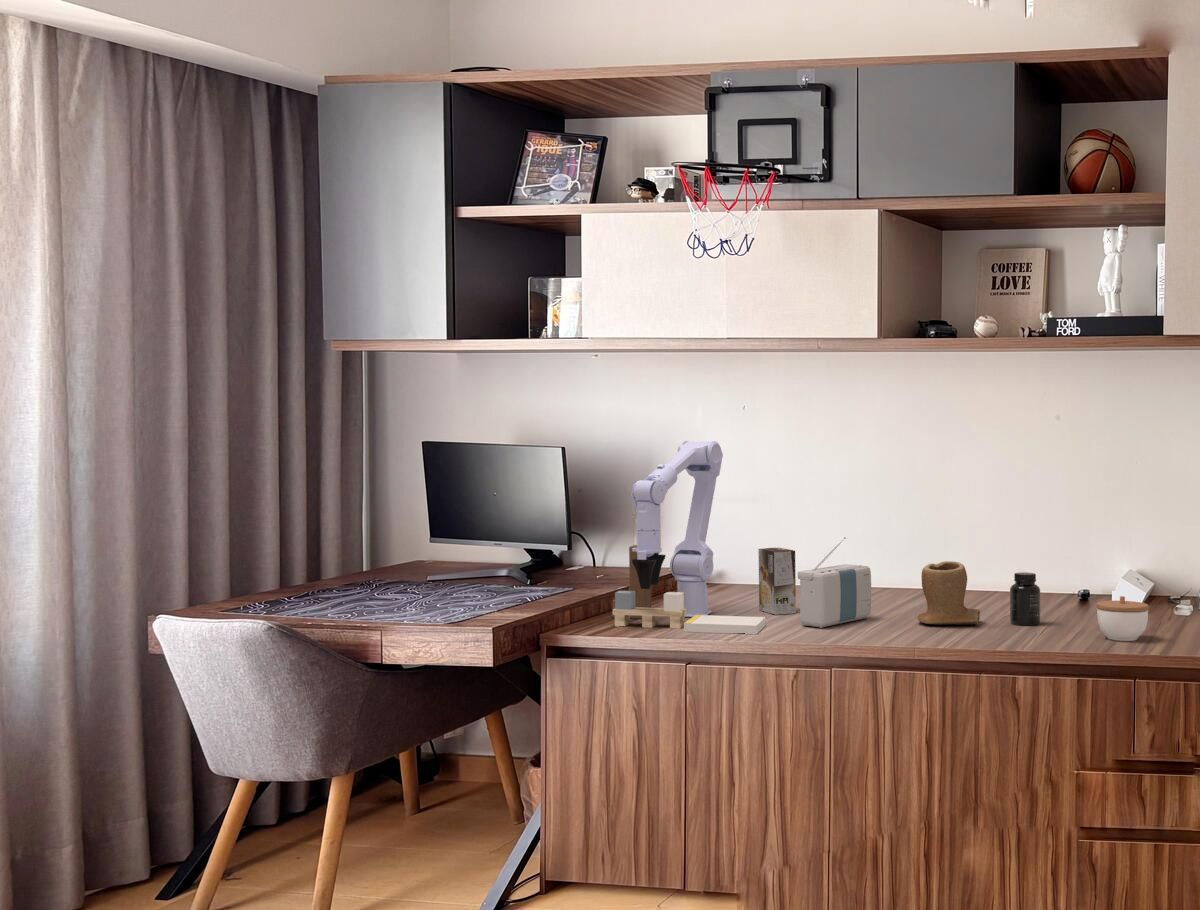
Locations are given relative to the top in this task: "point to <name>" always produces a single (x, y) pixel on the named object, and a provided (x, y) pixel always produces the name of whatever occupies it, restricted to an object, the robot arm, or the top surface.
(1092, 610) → the top surface
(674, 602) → the greyish beige cube
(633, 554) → the wooden block
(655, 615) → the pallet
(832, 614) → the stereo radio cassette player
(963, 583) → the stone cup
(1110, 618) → the lidded jar
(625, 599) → the pale grey square box
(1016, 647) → the top surface
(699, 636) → the top surface
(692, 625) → the dock
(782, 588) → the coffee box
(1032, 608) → the supplement bottle
